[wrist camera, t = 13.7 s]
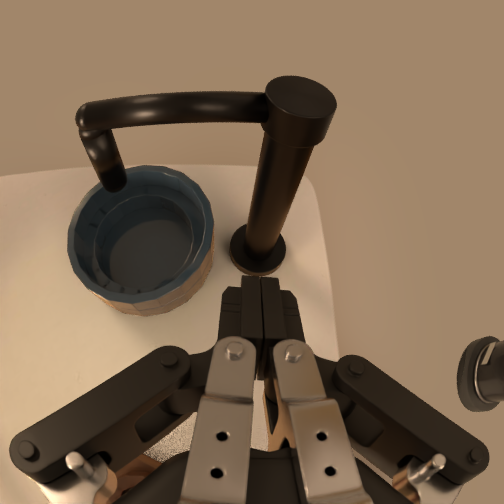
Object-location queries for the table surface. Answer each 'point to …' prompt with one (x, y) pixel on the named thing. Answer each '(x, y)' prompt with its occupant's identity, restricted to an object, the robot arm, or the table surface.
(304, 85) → the spout
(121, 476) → the button block
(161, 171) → the basin
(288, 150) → the base
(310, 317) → the table surface
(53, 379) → the table surface
